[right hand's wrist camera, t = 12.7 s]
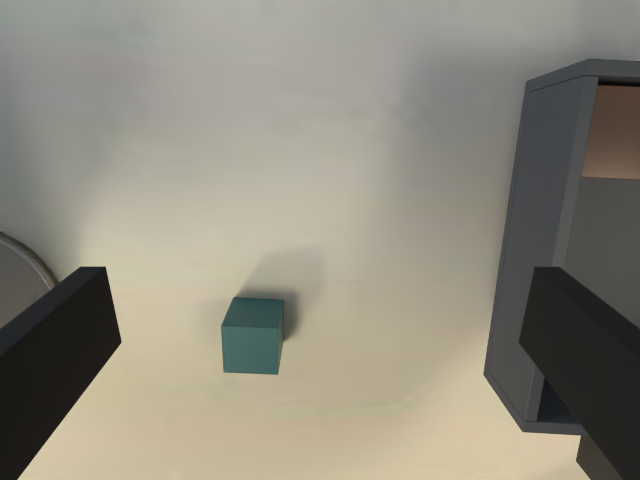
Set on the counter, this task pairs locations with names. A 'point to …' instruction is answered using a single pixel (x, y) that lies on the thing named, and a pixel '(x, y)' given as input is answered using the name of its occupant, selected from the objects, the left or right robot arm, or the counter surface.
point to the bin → (562, 240)
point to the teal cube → (253, 336)
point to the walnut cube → (614, 134)
